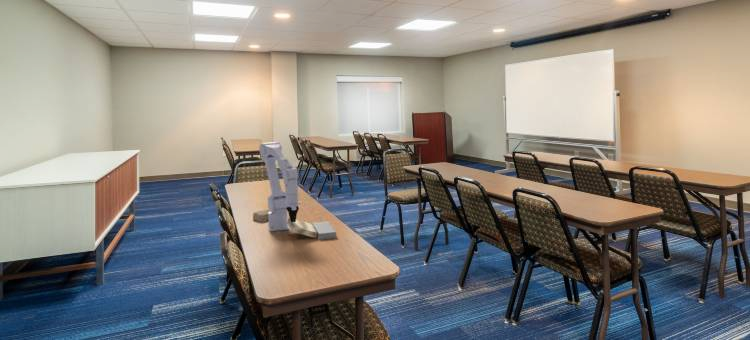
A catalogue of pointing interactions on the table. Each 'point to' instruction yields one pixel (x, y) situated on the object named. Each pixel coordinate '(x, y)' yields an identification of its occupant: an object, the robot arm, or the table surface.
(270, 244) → the table surface
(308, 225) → the cream flat slab
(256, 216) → the brick
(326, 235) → the board
